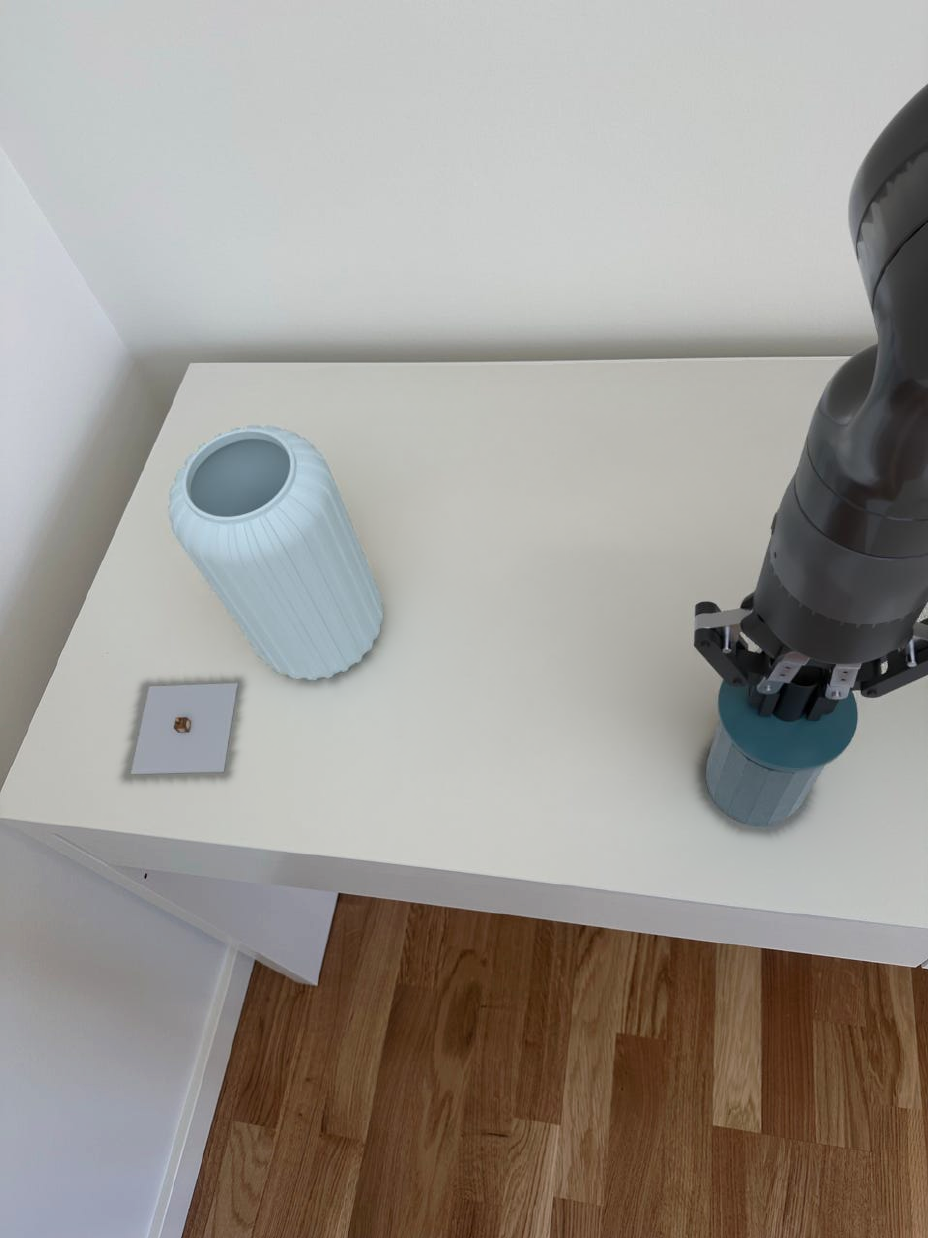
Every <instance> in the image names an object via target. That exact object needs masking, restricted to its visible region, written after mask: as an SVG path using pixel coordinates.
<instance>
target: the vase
mask: <svg viewBox="0 0 928 1238" xmlns="http://www.w3.org/2000/svg"><path fill="white" fill-rule="evenodd" d="M184 461H185V462H184V465H183V466H181V467H180V468H179V469H178V471H177V472H176V474H175V477H174V482H173V483H172V485H171V487H170V489H169V494H168V501H169V503H168V506H167V507H168V519H169V520H170V523H171V530H172V532H173V534H174V537H175V538H176V540H177V541H178V543H179V544H180V546H181V547H182V548H183V550H184V551H185V553H186V554H187V556H188V557H189V558H190V559H191V561H192V563H193V564H194V565H195V567H196V568H197V570H198V571H199V572H200V574H201V575H202V577H203V578H204V579H205V581H206V582H207V584H208V585H209V587H210V588H211V589H212V591H213V592H214V593H215V595H216V596H217V598H218V599H219V601H220V603H221V604H222V605H223V607H224V608H225V610H226V611H227V612H228V614H229V615H230V616H231V618H232V619H233V621H234V622H235V623H236V625H237V626H238V628H239V629H240V631H241V632H242V633H243V635H244V637H245V638H246V639H247V641H248V642H249V643H250V645H251V646H252V648H253V649H254V650H255V652H256V653H257V655H258V656H259V658H260V659H261V660H262V661H263V662H264V663H265V664H266V665H267V666H268V667H271V668H272V669H273V670H274V671H275V672H276V673H278V674H280V675H283V676H284V675H288V677H290V678H291V679H295V680H301V679H306V680H308V681H317V680H318V679H319V678H325V679H330V678H333V677H334V675H336V674H339V673H340V672H342V673H345V672H347V671H349V668H350V667H351V666H353V665H354V664H359V663H360V662H361V661H363V657H364V655H365V654H366V653H368V652H370V651H371V649H372V648H373V646H374V641H375V640H376V639H377V638H378V637H379V635H380V633H381V630H382V629H381V624H382V622H383V620H384V611H383V599H382V595H381V593H380V590H379V588H378V586H377V583H376V580H375V578H374V575H373V573H372V570H371V567H370V566H369V563H368V561H367V558H366V555H365V553H364V551H363V548H362V546H361V543H360V540H359V539H358V537H357V534H356V531H355V529H354V526H353V524H352V521H351V519H350V516H349V514H348V511H347V509H346V506H345V504H344V501H343V498H342V496H341V493H340V492H339V489H338V487H337V484H336V481H335V479H334V477H333V474H332V472H331V469H330V467H329V465H328V462H327V460H326V458H325V457H324V456H323V454H322V453H321V452H320V451H319V450H318V449H317V448H316V445H314V444H313V443H312V442H311V441H310V440H308V439H307V438H306V437H302V436H300V435H299V434H298V432H297V433H296V432H295V431H293V430H290V429H286V428H282V429H281V428H280V426H274V425H264V426H263V427H262V426H260V425H258V424H252V425H248V426H247V427H246V428H240V427H236V428H235V427H234V428H232V429H230V431H227V432H224V433H222V434H221V433H219V434H217V435H215V436H214V438H212V439H210V440H209V441H207V442H204V443H202V444H201V445H199V446H198V450H197V451H196V452H195V453H191V454H190V455H189V456H187V458H186V459H185V460H184Z"/></svg>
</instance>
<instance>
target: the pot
mask: <svg viewBox="0 0 928 1238" xmlns="http://www.w3.org/2000/svg"><path fill="white" fill-rule="evenodd" d="M824 768H825V766H823V767H821V768H818V769H815V770H811V771H806V772H783V771H777V770H774V769H770V768H767V767H765V766H762V765H760V764H758V763H756V762H754V761H752V760H751V759H749V758H748V757H746V756H745V755H744V754H742V753H741V752H740V751H739V750H738V749H737V748H736V747H735V746H734V745H733V744H732V743H731V741H730V740H729V738H728V737H727V735H726V734H725V732H724V730H723V728H722V725H721V722H720V719H719V718H718V723H717V726H716V730H715V733H714V736H713V740H712V744H711V747H710V751H709V753H708V757H707V761H706V769H705V782H706V786H707V787H706V788H707V789H708V793H709V795H710V797H711V799H712V800H713V802H714V803H715V804H716V806H717V807H718V808H719V809H720V810H721V811H722V812H723V813H724V814H725V815H726V816H728V817H730V818H731V819H733V820H735V821H737V822H739V823H741V824H746V825H748V826H755V827H768V826H773V825H777V824H779V823H782V822H784V821H786V820H787V819H789V818H790V817H791V816H792V815H794V814H795V813H796V812H797V811H798V810H799V809H800V807H801V806H802V805H803V803H804V801H805V799H806V798H807V796H808V794H809V793H810V792H811V789H812V788H813V786H814V784H815V783H816V781H817V780H818V778H819V776H820V775H821V773H822V771H823V769H824Z"/></svg>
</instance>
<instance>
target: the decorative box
mask: <svg viewBox="0 0 928 1238" xmlns="http://www.w3.org/2000/svg"><path fill="white" fill-rule="evenodd" d="M237 689H238V682H228V683H227V682H226V683H204V684H203V683H201V684H200V683H199V684H175V685H150V686H148V690H147V694H146V699H145V704H144V709H143V713H142V718H141V724H140V727H139V732H138V736H137V737H138V738H137V743H136V748H135V752H134V756H133V760H132V761H133V762H132V766H131V771H130V775H146V774H147V775H149V774H150V775H151V774H152V775H153V774H154V775H155V774H190V773H224V772H225V765H226V760H227V755H228V748H229V740H230V735H231V727H232V722H233V715H234V709H235V702H236V695H237Z"/></svg>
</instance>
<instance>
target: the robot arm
mask: <svg viewBox="0 0 928 1238" xmlns="http://www.w3.org/2000/svg"><path fill="white" fill-rule="evenodd" d="M847 223H848V229H849V234H850V238H851V242H852V247H853V251H854V253H855V258H856V262H857V264H858V268H859V271H860V274H861V275H860V276H861V278H862V282H863V285H864V290H865V293H866V296H867V300H868V303H869V307H870V310H871V314H872V317H873V323H874V326H875V330H876V334H877V342H876V343H873V344H871V345H868V346H866V347H865V348H863V349H862V350H859V351H858V352H856V353H855V354H853V355H852V356H850V357H849V358H848V359H847V360H845V362H843V364H842V365H840V366H839V367H838V369H837V370H836V371H835V372H834V374H833V375H832V376H831V377H830V379H829V381H828V382H827V383H826V385H825V387H824V389H823V392H822V393H821V396H820V398H819V400H818V402H817V404H816V405H815V409H814V411H813V414H812V417H811V420H810V424H809V427H808V431H807V434H806V438H805V441H804V443H803V444H804V445H803V447H802V450H801V454H800V458H799V461H798V465H797V468H796V470H795V471H794V474H793V476H792V478H791V480H790V481H789V483H788V484H787V487H786V489H785V491H784V493H783V496H782V497H781V500H780V504H779V507H778V508H777V511H776V512H775V513H774V516H773V519H772V522H771V525H770V530H771V531H770V538H769V541H768V545H767V548H766V551H765V555H764V558H763V562H762V565H761V569H760V573H759V576H758V580H757V583H756V586H755V589H754V591H752V592H751V593H750V594H748V595H746V596H745V597H744V598H743V600H742V601H741V603H740V607H739V608H734V609H729V610H728V609H727V610H721V608H720V607H719V606H718V605H717V603H715V602H712V601H708V600H707V601H699V602H697V603H696V604H695V606H694V630H693V636H694V637H693V647H694V648H695V650H696V651H698V653H699V654H700V655H701V656H702V657H703V658H704V660H705V661H706V662H707V663H708V664H709V665H710V666H711V667H712V669H713V670H714V671H715V672H716V673H717V674H718V675H719V676H720V678H721V679H722V681H723V680H724V681H725V682H726V683H727V684H728V685H730V686H733V687H743V686H746V685H747V684H748V683H749V706H750V707H751V708H755V709H758V716H763V717H771V715H772V712H773V710H774V707H775V705H776V702H777V700H778V698H779V695H780V688H781V687H782V685H783V684H784V683H790V682H791V680H792V679H793V678H794V676H795V675H796V673H797V672H798V670H799V669H800V667H801V666H816V667H821V668H822V669H823V676H822V679H821V681H820V683H819V685H818V687H817V689H816V691H815V693H814V695H813V697H812V699H811V702H810V704H809V706H808V708H807V710H806V712H805V716H806V720H809V721H819V720H820V718H821V716H822V714H826V715H828V714H830V713H832V712H833V711H834V709H835V707H836V705H837V704H838V702H839V700H840V699H844V698H846V697H847V696H848V693H849V691H852V692H855V691H859V692H860V695H861V696H862V697H864V698H866V699H876V698H877V699H878V698H881V697H883V696H885V695H887V694H889V693H891V692H893V691H896V690H898V689H901V688H903V687H905V686H907V685H909V684H912V683H914V682H916V681H918V680H920V679H923V678H925V677H927V676H928V617H927V618H924V619H922V620H920V621H917V620H918V619H919V617H920V616H921V615H922V613H923V611H924V610H925V608H926V606H927V604H928V83H926V84H925V85H924V86H923V87H922V88H921V89H920V90H919V91H917V92H916V93H915V94H914V95H913V96H912V97H911V98H910V99H909V100H908V101H907V102H906V103H905V104H904V105H903V107H902V108H900V110H898V112H897V113H896V114H894V116H893V117H892V118H891V119H890V121H889V122H888V123H887V124H886V126H885V127H884V128H883V130H882V131H881V132H880V133H879V135H878V136H877V137H876V139H875V140H874V142H873V143H872V145H871V146H870V148H869V149H868V151H867V153H866V154H865V156H864V158H863V159H862V162H861V164H860V165H859V167H858V169H857V171H856V174H855V176H854V179H853V181H852V184H851V188H850V191H849V196H848V204H847ZM741 633H742V634H743V635H745V636H746V637H747V639H749V640H750V641H751V642H753V643H754V644H755V645H756V646H757V647H758V649H757V650H756V651H757V652H756V651H753V650H752V651H751V650H749V644H748V642H747V641H746V640H745V639H744V637H743V636H742V635H741ZM884 663H887V669H886V670H885V672H883V670H882V665H883V664H884Z"/></svg>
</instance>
